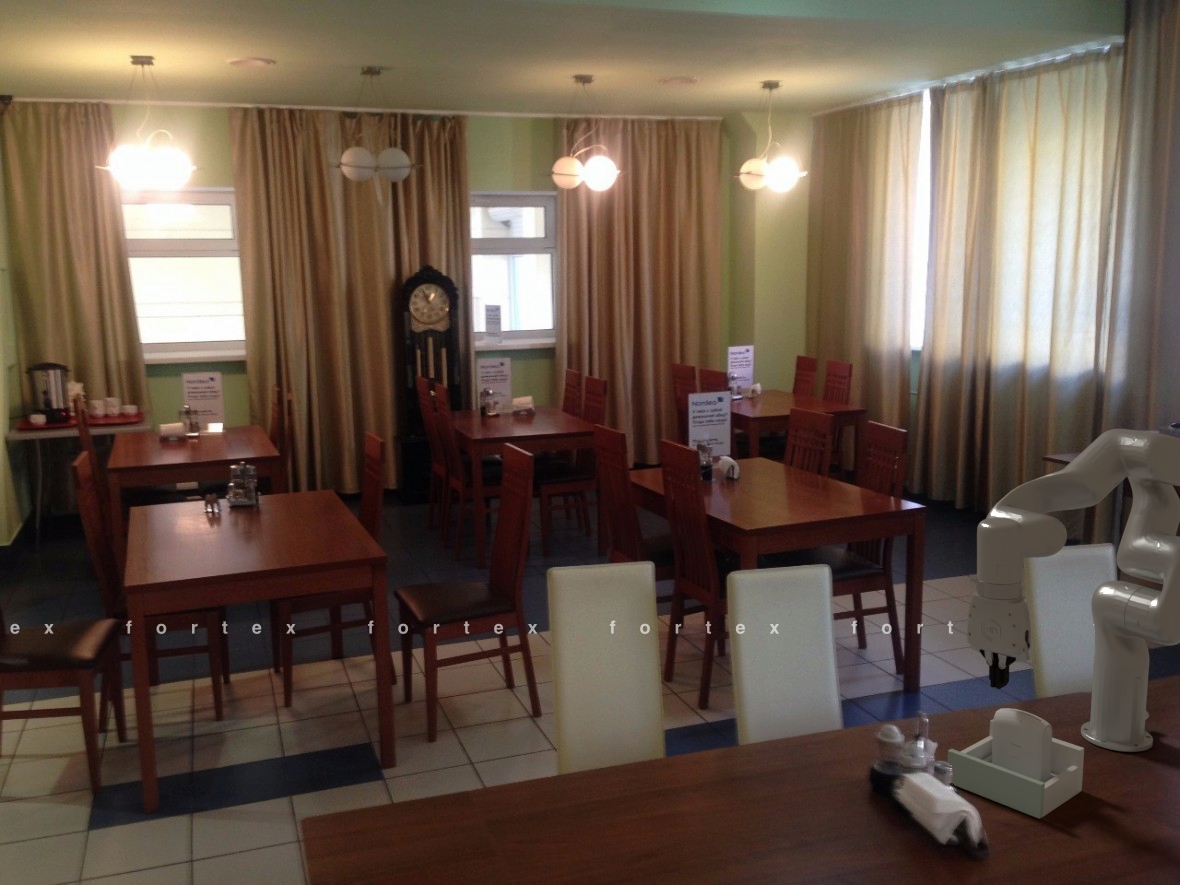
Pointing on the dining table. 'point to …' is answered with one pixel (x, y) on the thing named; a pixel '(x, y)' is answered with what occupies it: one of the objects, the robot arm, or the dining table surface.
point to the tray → (998, 783)
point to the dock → (1063, 765)
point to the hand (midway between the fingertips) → (999, 685)
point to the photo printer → (1022, 743)
